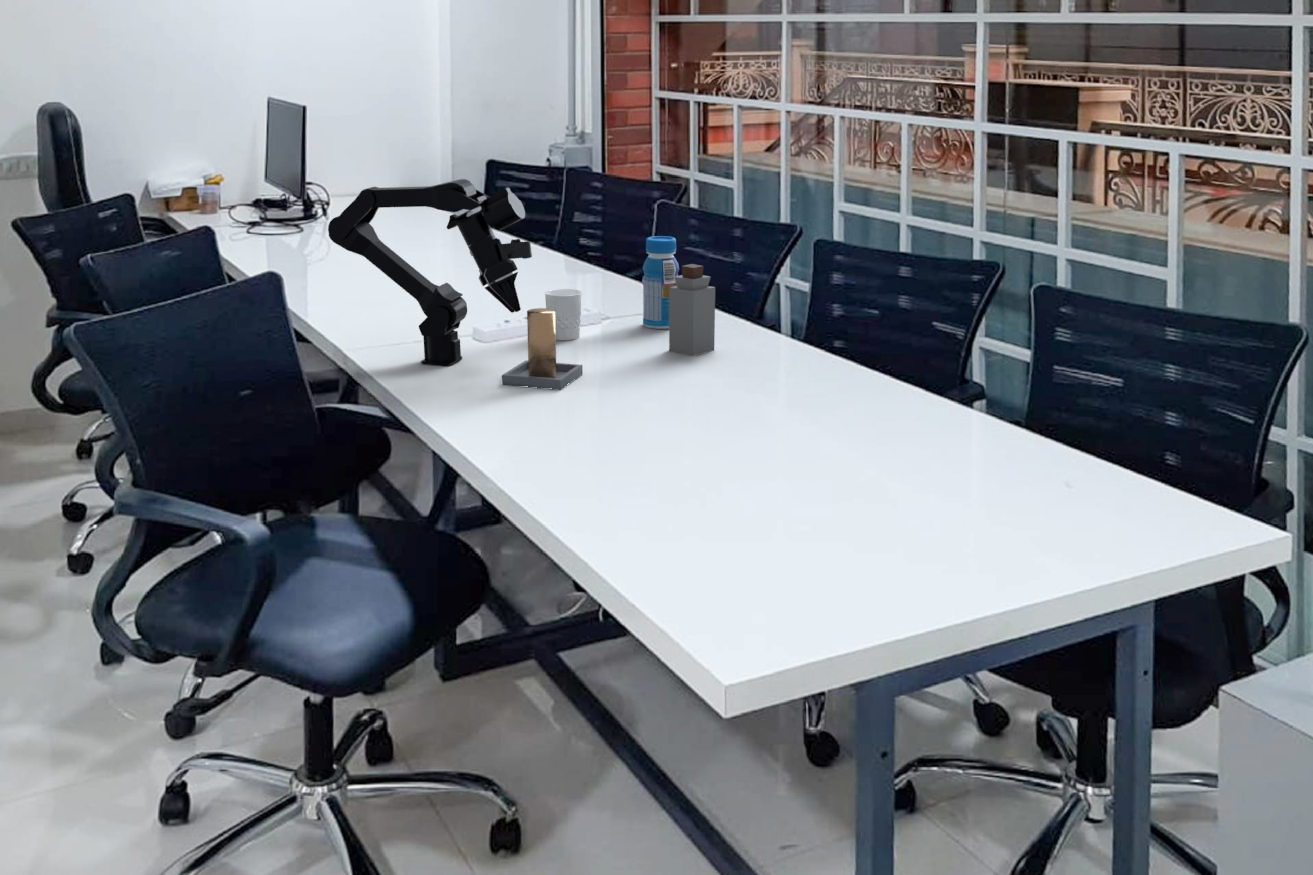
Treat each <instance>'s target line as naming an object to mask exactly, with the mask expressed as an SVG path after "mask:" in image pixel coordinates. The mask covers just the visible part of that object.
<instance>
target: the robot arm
mask: <svg viewBox="0 0 1313 875" xmlns="http://www.w3.org/2000/svg"><path fill="white" fill-rule="evenodd" d="M414 207H415V208H416V207H422V208H423V207H426V208H432V209H435V210H438V211H444V212H450V213H454V214H450V215H449V219H448V222H447V226H446V229H447V230H450V229H454V228H456V227H457V228H458V230H459V232H460V234H461V236H462V238H463V240H464V242H465V243H466V245H467V248H468V250H469V254H470V256H471V257H472V258H473V260H474V261H475V264H476V265H477V268H478V269H479V270H478V272H479V276H478V280H479V282H480V284H481V286H482V287H484V286H485V287H484V289H485V290H486V291H487V292H488V293H489V294H490V295H491V296H493V297H494V298H495V299H496V300H497V301H498V302H499V303H500V304H502V305H503V306H504V307H505V308H506V309H507V310H508V311H509V312H510V313H512V314H513V313H517V312H519V311H521V310H522V308H521V305H520V304H521V303H520V301H519V300H520V299H519V297H518V292H517V289H516V286H515V285H516V284H515V282H516V279H517V276H518V273H519V271H518V267H517V265H516V262H515V261H514V259H516V260H517V259H523V260H525V259H531V258H533V253H532V246H531V241H521V239H520V238H517V239H511V240H510V242H509V243H508V242H507V243H502V241H501V240H500V238H497V237H496V236H495V234H494V231H493V229H495V230H497V231H502V230H504V229H505V228H508V227H510V226H512V225H514V224H515V223H517V222H520V221H521V220H523V219H525V217H526V210H525V207H524V205H523V202H522V200H520V199H519V198H518V196H517V195H516V194H515V193H513V191H511V188H510V187H509V186H508V187H504V188H503V189H500V190H499V191H497V193H495V194H493V195H492V196H489V195H487V194H486V193H483V192H482V191H480V190H478V189H477V188H476V187H475V186H474V184H473V183H472V182H471V181H470V180H468V179H465V178H461V179H456V180H452V181H447V182H446V181H445V182H442V183H438V184H435V185H431V186H428V185H427V186H424V185H423V186H394V187H392V186H391V187H378V186H372V187H371V186H370V187H368V188H365V189H364V188H363V189H362V190H361V191H360V193H359V194H358V195H357V196H356V198H354V200H352V202H351V203H350V204H349V205H348V206H347V207H346V208H345V209H343V211H342V212H341V213H340V215H338V216H335V217H334V218H332V219H331V220H330V221H329V223H328V226H327V231H328V237H329V239H330V240H331V241H332V242H333V243H334V244H336V245H337V246H339V247H341V248H343V249H344V250H346V251H348V252H351V253H353V254H357V255H359V256H362V257H364V258H365V259H366V260H367V261H368V262H370V263H371V264H372V265H373V266H375V267H376V268H377V269H378V270H380V272H381V273H383V274H385V275H386V276H387V277H388V278H389V279H390V280H392V281H393V282H394V283H395V284H397V285H398V286H399V287H400V288H401V289H402V290H404V291H405V292H407V293H408V294H409V295H410V296H411V297H412V298H414V300H416V302H418V305H419V306H420V309H421V311H422V312H423V314H424V315H425V316H426V318H425V319H424V320H423V321H422V322H421V323H420V324H419V325H418V329H419V332H420V334H421V336H423V351H424V352H423V353H424V354H423V356H424V359H422V360H420V364H423V365H425V364H427V365H436V366H437V365H438V366H452V365H453V364H456V363H457V362H459V361H460V360H463V356H462V354H461V340H460V338H459V333H458V330H457V329H459V328H460V324H461V321H463V320H464V319H466V317H467V314H468V305H467V301H466V300H465V299H464V298H463V297H462V296H463V293H461V292H458V291H457V290H456V289H455V288H454V287H453V286H452V285H451V284H450V283H448V282H445V283H443V284H441V285H437V284H434V283H432V282H431V281H430V280H429V279H428V278H426V277H425V275H423V274H422V273H421V272H419V271H418V270H416V269H415V267H413V266H412V265H411V264H409V263H408V262H407V261H405V260H404V259H403V258H402V257H401V256H399V254H398V253H396V252H395V251H394V250H392V249H391V248H390V247H389V246H387V245H386V243H384V242H383V241H381V240H380V238H379V237H378V236H379V235H378V234H377V232H376V231H375V229H374V227H373V226H372V225H371V222H372V221H373V220H374V218H375V215H376V214H377V212H378V209H380V208H414ZM480 207H481V209H480V210H478V211H477V212H475V211H473V210H475V209H478V208H480ZM464 210H466V211H465V212H463V213H462V214H459V215H458V214H455V213H456V212H460V211H464ZM486 285H487V286H486Z"/></svg>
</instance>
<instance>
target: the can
mask: <svg viewBox="0 0 1313 875" xmlns="http://www.w3.org/2000/svg"><path fill="white" fill-rule="evenodd" d="M526 320H527V322H526V323H527V325H526V326H527V327H526V328H527V360H528V371H529V376H533V377H545V378H556V363H557V340H556V323H555V310H553V309H548V308H546V307H539V308H538V307H537V308H531V309H528V310H527V311H526Z"/></svg>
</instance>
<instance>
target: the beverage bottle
mask: <svg viewBox="0 0 1313 875" xmlns="http://www.w3.org/2000/svg"><path fill="white" fill-rule="evenodd" d="M645 251H646V254H648V256H647V257H646V259H645V261H644V262H643V266H642V271H643V274H644V275H643V276H642V280H641V283H642V288H643V290H642V292H643V293H642V294H643V296H642V297H643V298H642V301H643V303H642V304H643V308H642V309H643V310H642V311H643V312H642V313H643V315H642V316H643V317H642V324H643V326H644V327H646V328H648V329H652V330H669V294H670V287H674V286H677V285H676V281H675V278H674V277H675V276H679V271H680V266H679V262H678V261H677V258H676V257H675V256H674V254H675V255H676V253H677V239H676V238H675V237H673V236H666V235H665V236H664V235H657V236H656V235H655V236H648V237H646V240H645Z"/></svg>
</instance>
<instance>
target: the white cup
mask: <svg viewBox="0 0 1313 875" xmlns="http://www.w3.org/2000/svg"><path fill="white" fill-rule="evenodd" d="M544 295H545V308H548V309H553V310H555V323H556V341H572V340H577V339H579V338H580V335H581V334H580V333H581V330H580V326H581V315H582V291H580V289H579V290H578V289H574V288H573V289H571V288H555V289H550V290H547V291H545V292H544Z"/></svg>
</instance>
